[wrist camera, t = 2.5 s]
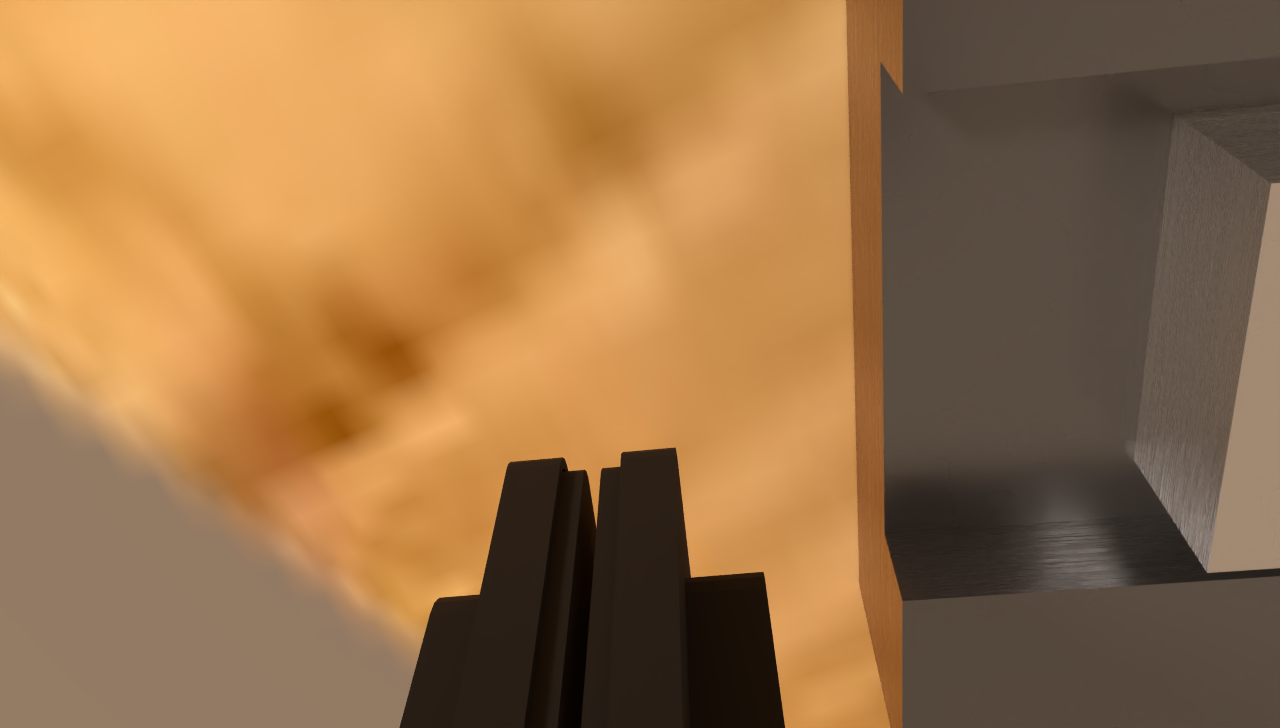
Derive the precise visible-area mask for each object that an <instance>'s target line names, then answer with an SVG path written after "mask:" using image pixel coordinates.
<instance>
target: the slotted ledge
mask: <svg viewBox="0 0 1280 728" xmlns="http://www.w3.org/2000/svg"><path fill="white" fill-rule="evenodd" d="M846 6H847V51H848V95H849V139H850V184H851V228H852V272H853V317H854V361H855V405H856V450H857V494H858V538H859V583H860V590H861V595H862V599H863V604H864V608H865V613H866V617H867V622H868V627H869V631H870V636H871V640H872V645H873V649H874V654H875V658H876V663H877V667H878V672H879V676H880V681H881V686H882V690H883V695H884V699H885V704H886V708H887V713H888V717H889V722H890V726H891V728H1280V568H1274V569H1259V570H1244V571H1229V572H1214V573H1207V572H1206V570H1205V569H1204V567H1203V566H1202V564H1201V563H1200V561H1199V560H1198V558H1197V557H1196V555H1195V553H1194V552H1193V550H1192V549H1191V547H1190V546H1189V544H1188V543H1187V541H1186V540H1185V538H1184V537H1183V535H1182V533H1181V532H1180V530H1179V529H1178V527H1177V526H1176V524H1175V523H1174V521H1173V520H1172V518H1171V517H1170V515H1169V513H1168V512H1167V510H1166V509H1165V507H1164V506H1163V504H1162V503H1161V501H1160V500H1159V498H1158V496H1157V495H1156V493H1155V492H1154V490H1153V489H1152V487H1151V486H1150V484H1149V483H1148V481H1147V480H1146V478H1145V476H1144V475H1143V473H1142V472H1141V470H1140V469H1139V467H1138V466H1137V464H1136V463H1135V461H1134V452H1135V443H1136V435H1137V426H1138V418H1139V409H1140V401H1141V393H1142V384H1143V376H1144V367H1145V359H1146V350H1147V342H1148V333H1149V325H1150V316H1151V308H1152V299H1153V291H1154V282H1155V274H1156V265H1157V257H1158V248H1159V240H1160V231H1161V223H1162V214H1163V206H1164V198H1165V189H1166V181H1167V172H1168V164H1169V155H1170V147H1171V138H1172V130H1173V121H1174V114H1178V113H1188V112H1198V111H1208V110H1219V109H1229V108H1239V107H1249V106H1260V105H1270V104H1280V0H846Z"/></svg>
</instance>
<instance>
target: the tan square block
mask: <svg viewBox="0 0 1280 728" xmlns="http://www.w3.org/2000/svg"><path fill="white" fill-rule="evenodd" d="M1134 461H1135V463H1136V464H1137V466H1138V467H1139V469H1140V470H1141V472H1142V473H1143V475H1144V476H1145V478H1146V480H1147V481H1148V483H1149V484H1150V486H1151V487H1152V489H1153V490H1154V492H1155V493H1156V495H1157V496H1158V498H1159V500H1160V501H1161V503H1162V504H1163V506H1164V507H1165V509H1166V510H1167V512H1168V513H1169V515H1170V517H1171V518H1172V520H1173V521H1174V523H1175V524H1176V526H1177V527H1178V529H1179V530H1180V532H1181V533H1182V535H1183V537H1184V538H1185V540H1186V541H1187V543H1188V544H1189V546H1190V547H1191V549H1192V550H1193V552H1194V553H1195V555H1196V557H1197V558H1198V560H1199V561H1200V563H1201V564H1202V566H1203V567H1204V569H1205V570H1206V572H1207V573H1214V572H1229V571H1244V570H1259V569H1274V568H1280V104H1270V105H1260V106H1249V107H1239V108H1229V109H1219V110H1208V111H1198V112H1188V113H1178V114H1174V121H1173V130H1172V138H1171V147H1170V155H1169V164H1168V172H1167V181H1166V189H1165V198H1164V206H1163V214H1162V223H1161V231H1160V240H1159V248H1158V257H1157V265H1156V274H1155V282H1154V291H1153V299H1152V308H1151V316H1150V325H1149V333H1148V342H1147V350H1146V359H1145V367H1144V376H1143V384H1142V393H1141V401H1140V409H1139V418H1138V426H1137V435H1136V443H1135V452H1134Z"/></svg>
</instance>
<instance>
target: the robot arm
mask: <svg viewBox="0 0 1280 728" xmlns="http://www.w3.org/2000/svg"><path fill="white" fill-rule="evenodd" d="M400 728H785V724H784V717H783V709H782V702H781V695H780V687H779V680H778V672H777V665H776V658H775V650H774V643H773V635H772V628H771V621H770V613H769V606H768V598H767V591H766V584H765V577H764V573H763V572H757V573H744V574H732V575H719V576H707V577H694V578H691V575H690V566H689V557H688V548H687V539H686V530H685V522H684V513H683V504H682V495H681V486H680V477H679V468H678V460H677V453H676V448H666V449H655V450H643V451H632V452H622V454H621V466H620V467H613V468H602V470H601V479H600V491H599V504H598V517H597V530H596V523H595V517H594V511H593V504H592V498H591V492H590V485H589V480H588V475H587V472H586V470H579V471H568V468H567V464H566V461H565V459H564V458H552V459H540V460H529V461H517V462H510V463H509V464H508V467H507V470H506V475H505V479H504V484H503V489H502V493H501V498H500V503H499V507H498V512H497V517H496V521H495V526H494V531H493V535H492V540H491V545H490V549H489V554H488V559H487V563H486V568H485V573H484V577H483V582H482V587H481V591H480V595H469V596H456V597H444V598H439V599H438V600H437V601H436V602H435V603H434V605H433V608H432V610H431V613H430V616H429V620H428V624H427V628H426V631H425V635H424V639H423V643H422V646H421V650H420V654H419V657H418V661H417V665H416V669H415V672H414V676H413V680H412V684H411V687H410V691H409V695H408V698H407V702H406V706H405V710H404V713H403V717H402V721H401V724H400Z"/></svg>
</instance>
